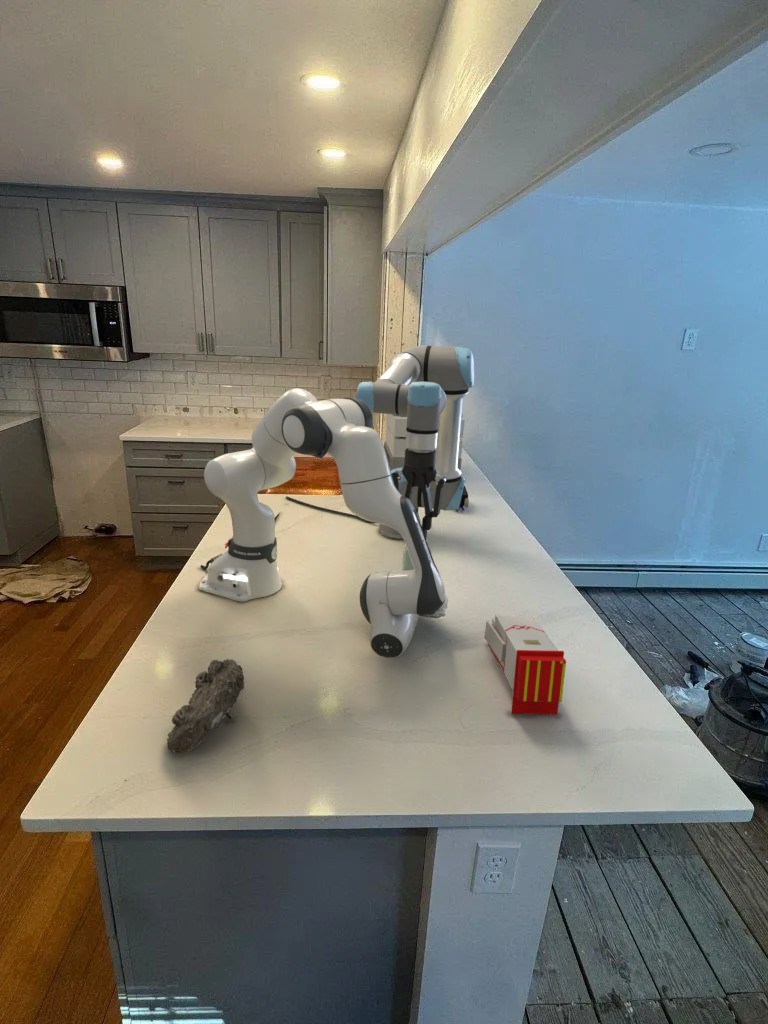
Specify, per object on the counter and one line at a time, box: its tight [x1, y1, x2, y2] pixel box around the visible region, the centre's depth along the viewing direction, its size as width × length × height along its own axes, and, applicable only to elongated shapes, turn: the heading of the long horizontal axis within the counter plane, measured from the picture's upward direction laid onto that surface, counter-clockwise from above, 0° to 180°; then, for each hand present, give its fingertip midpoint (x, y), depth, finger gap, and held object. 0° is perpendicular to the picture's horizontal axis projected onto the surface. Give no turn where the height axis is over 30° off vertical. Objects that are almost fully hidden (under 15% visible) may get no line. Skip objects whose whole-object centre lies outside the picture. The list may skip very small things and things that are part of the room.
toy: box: [484, 614, 567, 716], centre depth 124 cm, size 12×13×30 cm
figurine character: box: [455, 485, 470, 512], centre depth 229 cm, size 7×8×15 cm
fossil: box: [166, 658, 245, 754], centre depth 106 cm, size 22×10×15 cm
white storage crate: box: [383, 414, 465, 472], centre depth 268 cm, size 34×33×41 cm
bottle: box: [401, 546, 414, 571], centre depth 146 cm, size 5×5×22 cm
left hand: (412, 585), depth 148 cm, fingers closed on bottle, 5 cm apart
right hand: (414, 539), depth 143 cm, fingers closed on cap, 4 cm apart
